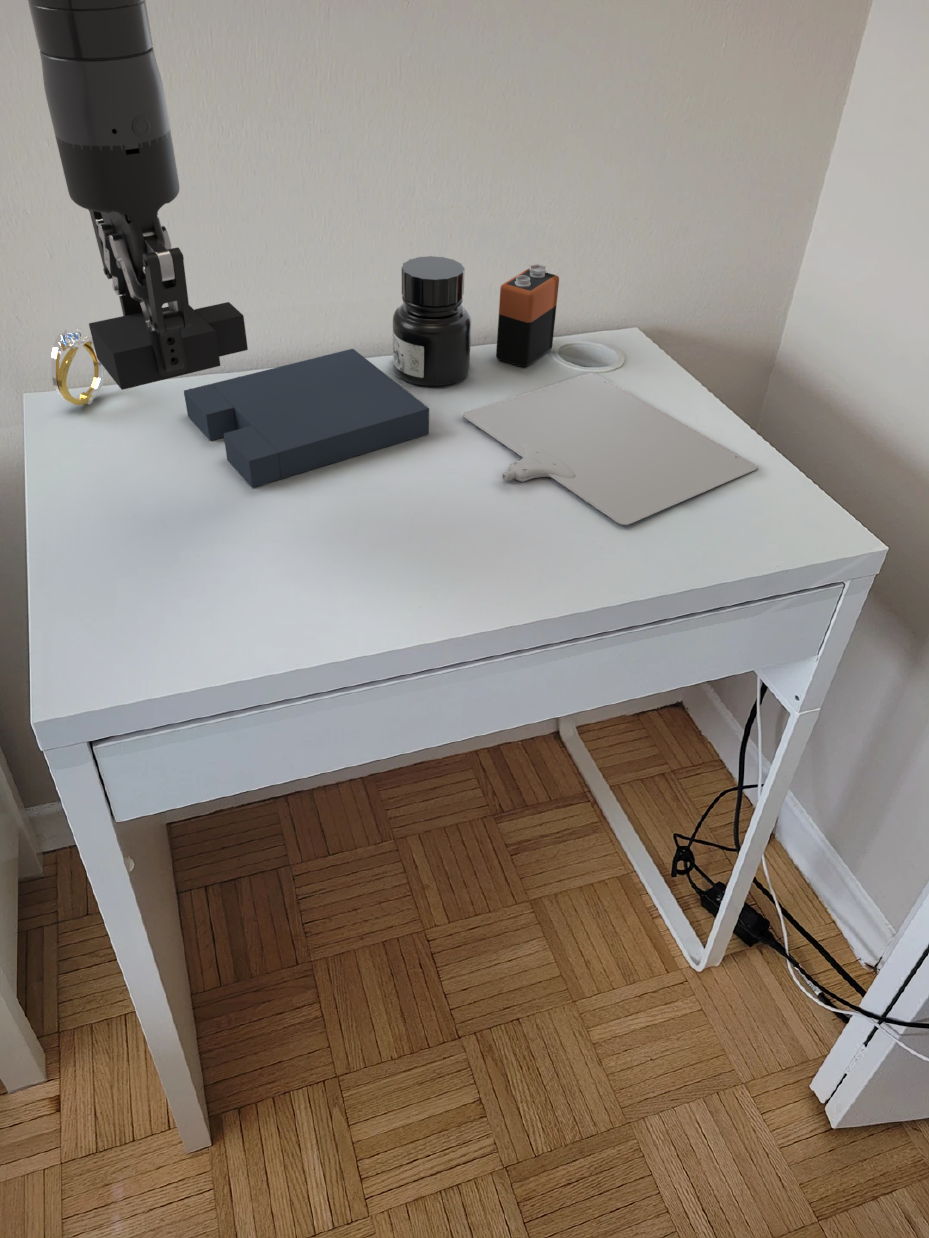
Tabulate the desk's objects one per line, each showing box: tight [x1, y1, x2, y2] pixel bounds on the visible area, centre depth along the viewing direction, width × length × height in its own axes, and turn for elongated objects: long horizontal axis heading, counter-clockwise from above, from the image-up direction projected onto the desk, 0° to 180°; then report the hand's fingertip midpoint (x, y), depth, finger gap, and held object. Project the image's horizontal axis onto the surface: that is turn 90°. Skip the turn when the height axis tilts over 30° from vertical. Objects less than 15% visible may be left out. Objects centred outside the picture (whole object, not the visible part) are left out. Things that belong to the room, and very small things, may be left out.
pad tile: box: [88, 301, 249, 391], centre depth 75 cm, size 11×6×3 cm, turn 124°
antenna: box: [462, 372, 758, 526], centre depth 98 cm, size 25×24×1 cm
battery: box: [495, 263, 560, 368], centre depth 111 cm, size 4×7×10 cm, turn 147°
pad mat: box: [183, 348, 430, 489], centre depth 99 cm, size 20×16×3 cm
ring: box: [50, 327, 106, 406], centre depth 99 cm, size 7×3×8 cm, turn 156°
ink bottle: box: [392, 255, 473, 387], centre depth 106 cm, size 10×9×12 cm
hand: (157, 355), depth 75 cm, fingers closed on pad tile, 6 cm apart
